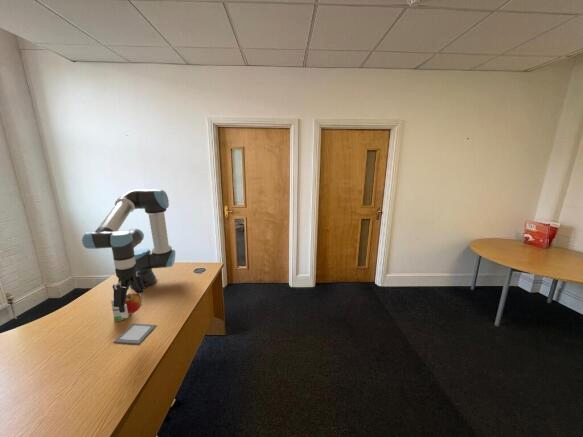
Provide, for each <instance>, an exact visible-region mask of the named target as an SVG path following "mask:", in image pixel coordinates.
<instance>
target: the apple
mask: <svg viewBox="0 0 583 437" xmlns="http://www.w3.org/2000/svg"><path fill="white" fill-rule="evenodd" d="M135 293H136V292H135ZM135 293H130V294H128V295H126V300H125V304H127V310H128V313H130V314H134V313H136V312H138V311H139V309H140V308H141V307H142V306H141V302H142V303H143V299H141V297H140V296H139V295H138V294H135ZM121 303H122V302H121Z"/></svg>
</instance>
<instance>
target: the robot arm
mask: <svg viewBox="0 0 583 437" xmlns="http://www.w3.org/2000/svg"><path fill="white" fill-rule="evenodd" d="M169 206H170V201H169V197H168V194H167V193H166V191H164V190H163V189H156V188H155V189H133V190H129V191H127V192H125V193H123V194H121V195H120V196H119V197H118V198H117V199H116V200H115V203H114V207H113V208H112V209H111V210H110V212H109V213H108V215H106V217H105V218H104V219H103V221H102V222H101V223H100V225H99V226H98V227H97V229H96V230H95V231H94V232H93V231H91V232H86V233H84V234H83V235H82V239H81V243H82V245H83V247H84V248H85V249H89V250H93V249H94V250H97V249H98V250H99V249H109V248H110V249H111V252H112V258H113V263H114V269H115V270H114V271H115V276H116V277H117V278H118V281H117V283H116V284H112V290H113V298H114V307H119V312H120V313H121V318H126V319H127V318H129V315H128V310H127V304H125V300H126V295H127V292H128V290H129V288H131V289H132V290H134V292H135V294H138V295H139V296H140V297H141V299H142V298H143V297H142V294H143V293H144V290H145V288H147V287H151V286H152V285H154V284H156V282H157V276H156V275H155V273H154V271H153V269H163V268H165V269H167V268H172V267H173V266H174V264H175V261H176V250H175V249H173V248H172V246H171V245H169V239H168V238H169V237H168V231H167V225H166V224H167V222H166V218H165V217H166V216H165V213H166V211H167V209H168V208H169ZM137 209H138V210H139V209H140V210H141V209H142V210H144V213H146V214H147V215H148V219H149V220H148V221H149V226H150V233H151V238H152V243H153V248H152V250H150V249H149V248H140V249H138V250H135V247H137V246H138V245H140V244H141V243H142V241H143V240H144V238H145V233H144V232H143V231H142V230H141V229H138V228H132V229H129V230H121V231H120V228H121V227H122V225H123V224H124V222H125V220H126V219H127V218H128V217H129V215H130V213H132V212H133V211H135V210H137ZM142 300H143V299H142ZM121 302H122V303H121ZM142 306H143V301H142V302H141V306H140V307H142Z"/></svg>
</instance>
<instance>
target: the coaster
mask: <svg viewBox="0 0 583 437" xmlns="http://www.w3.org/2000/svg"><path fill="white" fill-rule="evenodd" d="M156 327H157V325H156V324H148V323H147V324H146V323H132V324H131V325H130V326H129V327H127V328H126V329H125V331H124V332H122V333H121V334H120V335H119V336H118V337H117V338H116V339H114V341H113V343H115V344H126V345H127V344H128V345H129V344H130V345H140V344H141V343H142V342H143V341H144V340H145V339H146V338H147V337H148V336H149V334H151V333H152V332H153V330H154V329H155V328H156Z"/></svg>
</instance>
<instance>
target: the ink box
mask: <svg viewBox="0 0 583 437" xmlns="http://www.w3.org/2000/svg"><path fill="white" fill-rule="evenodd" d="M128 294H131V292H130V291H127V295H128ZM110 304H111V308H112V315H113V321H114V322H118V321H120V322H121V321H125V320H126V319H127V318H121V313H120V312H119V307H114V297H113V298H112V299H111V301H110ZM130 314H131V313H128V316H129V315H130Z"/></svg>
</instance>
